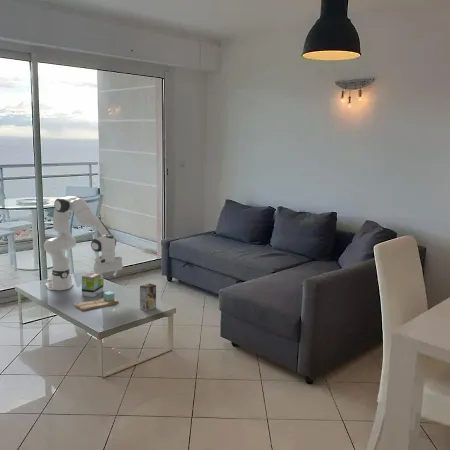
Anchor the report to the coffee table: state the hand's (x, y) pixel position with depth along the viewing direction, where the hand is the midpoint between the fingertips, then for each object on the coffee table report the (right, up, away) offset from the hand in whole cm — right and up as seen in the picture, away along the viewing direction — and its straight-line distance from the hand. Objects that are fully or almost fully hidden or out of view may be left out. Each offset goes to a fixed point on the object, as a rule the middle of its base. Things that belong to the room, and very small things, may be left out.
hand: (108, 277), depth 312 cm
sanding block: (0, -16, +3) cm, 16 cm away
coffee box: (+28, -20, -7) cm, 35 cm away
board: (-7, -18, -3) cm, 19 cm away
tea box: (-16, -14, +19) cm, 29 cm away
